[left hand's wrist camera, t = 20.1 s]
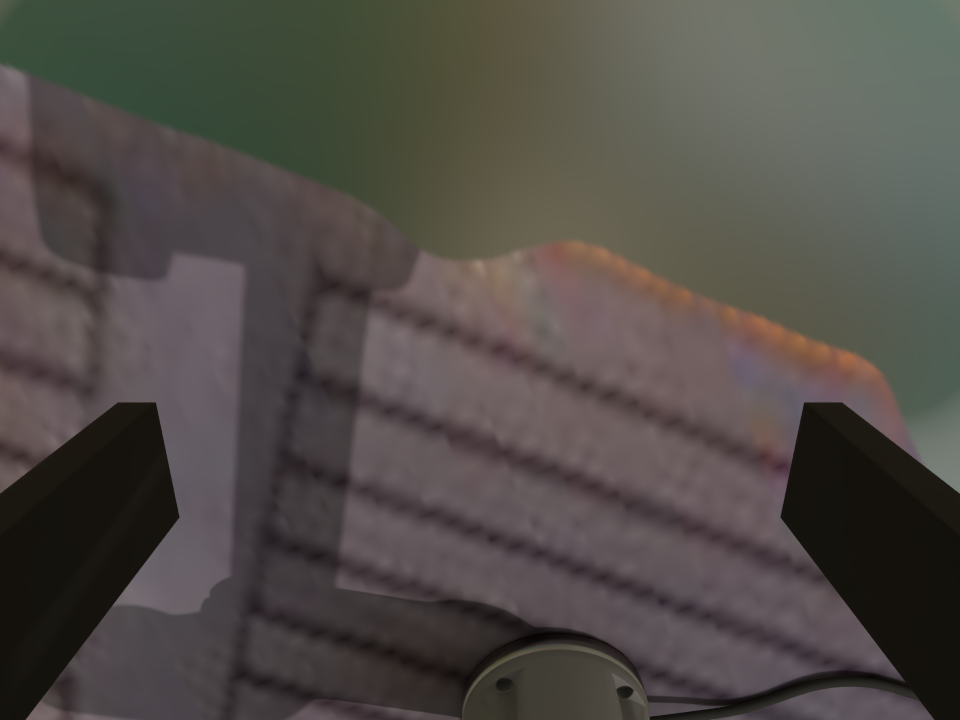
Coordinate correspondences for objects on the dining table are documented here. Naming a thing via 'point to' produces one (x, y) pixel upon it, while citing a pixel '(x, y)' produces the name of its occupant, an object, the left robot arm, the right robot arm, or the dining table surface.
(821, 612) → the dining table surface
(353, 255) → the dining table surface
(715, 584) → the dining table surface
